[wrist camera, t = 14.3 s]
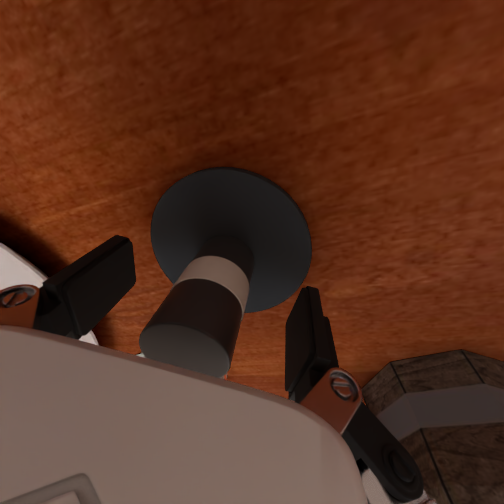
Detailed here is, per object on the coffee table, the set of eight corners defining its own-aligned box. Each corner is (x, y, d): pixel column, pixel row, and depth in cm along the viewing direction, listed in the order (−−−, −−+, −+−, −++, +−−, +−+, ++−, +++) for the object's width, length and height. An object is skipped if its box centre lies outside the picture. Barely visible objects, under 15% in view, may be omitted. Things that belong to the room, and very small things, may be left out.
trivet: (154, 145, 12) (146, 146, 12) (339, 194, 12) (342, 197, 11) (157, 286, 18) (152, 292, 17) (283, 319, 18) (282, 327, 17)
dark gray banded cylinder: (202, 227, 14) (133, 310, 7) (261, 243, 14) (240, 339, 7) (197, 274, 16) (139, 369, 10) (248, 288, 16) (223, 392, 9)
